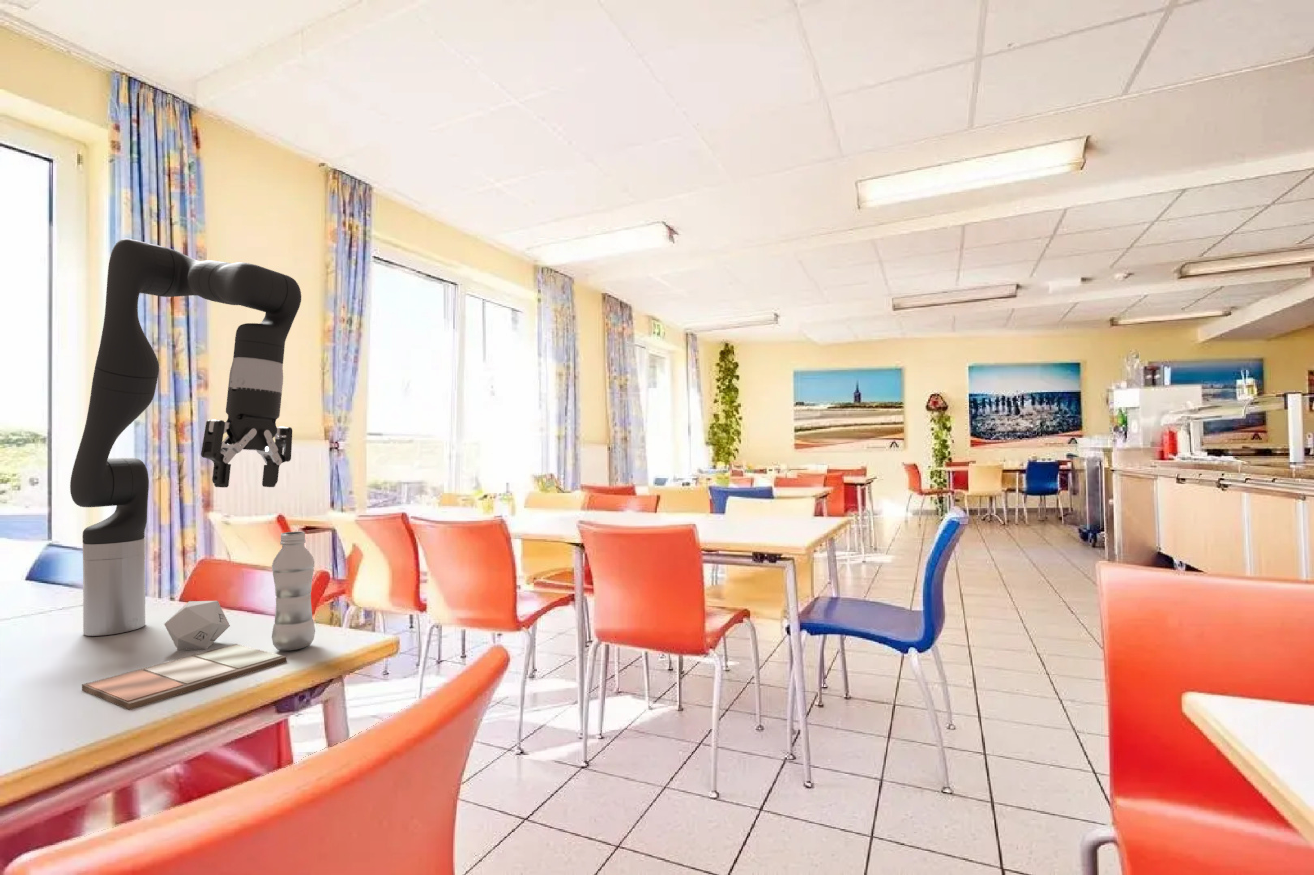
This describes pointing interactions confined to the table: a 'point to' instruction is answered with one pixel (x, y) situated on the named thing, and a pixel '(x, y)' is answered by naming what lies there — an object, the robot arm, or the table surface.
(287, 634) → the plastic bottle
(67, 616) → the table surface
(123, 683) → the game board
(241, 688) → the table surface
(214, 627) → the die
